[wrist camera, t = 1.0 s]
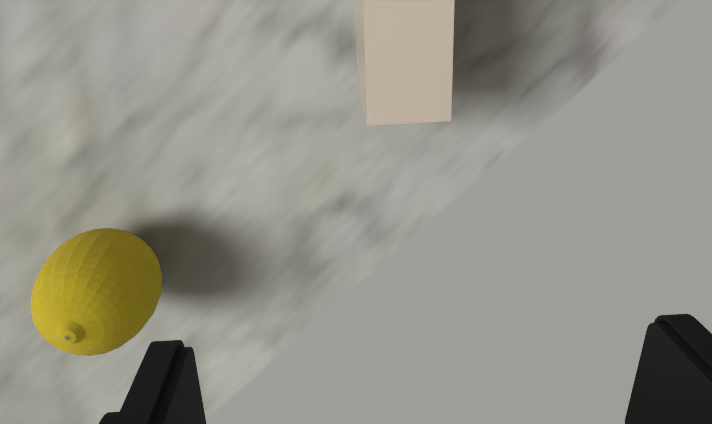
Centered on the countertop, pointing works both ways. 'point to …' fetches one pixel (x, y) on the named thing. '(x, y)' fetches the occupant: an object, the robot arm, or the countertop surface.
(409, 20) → the clay bar
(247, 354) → the countertop surface
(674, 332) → the robot arm
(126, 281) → the lemon
